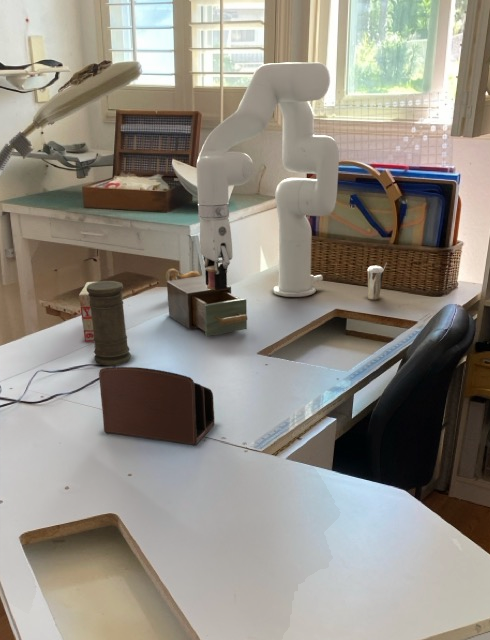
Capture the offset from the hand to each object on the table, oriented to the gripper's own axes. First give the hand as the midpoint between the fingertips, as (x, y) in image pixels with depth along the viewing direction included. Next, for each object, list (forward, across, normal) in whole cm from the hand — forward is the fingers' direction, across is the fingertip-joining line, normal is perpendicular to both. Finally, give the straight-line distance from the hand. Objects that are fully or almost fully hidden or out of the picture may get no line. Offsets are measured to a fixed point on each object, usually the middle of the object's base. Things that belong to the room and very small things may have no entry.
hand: (216, 285), depth 209 cm
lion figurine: (+12, +36, -6) cm, 38 cm away
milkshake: (+12, +4, -52) cm, 54 cm away
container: (+12, -8, +32) cm, 35 cm away
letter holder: (+12, -53, +37) cm, 66 cm away
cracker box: (+12, +17, +26) cm, 34 cm away
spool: (0, 0, 0) cm, 0 cm away
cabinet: (+12, +12, 0) cm, 17 cm away
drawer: (+11, -1, 0) cm, 11 cm away
